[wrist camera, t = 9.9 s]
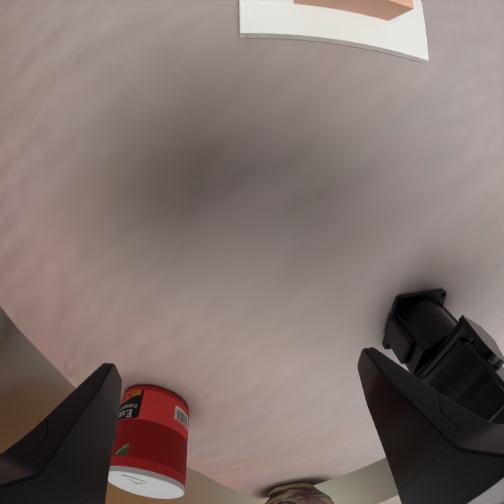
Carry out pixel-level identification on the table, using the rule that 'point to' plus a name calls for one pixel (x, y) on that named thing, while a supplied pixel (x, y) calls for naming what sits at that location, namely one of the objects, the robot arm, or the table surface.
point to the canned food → (150, 443)
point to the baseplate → (335, 27)
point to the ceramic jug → (298, 495)
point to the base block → (365, 6)
